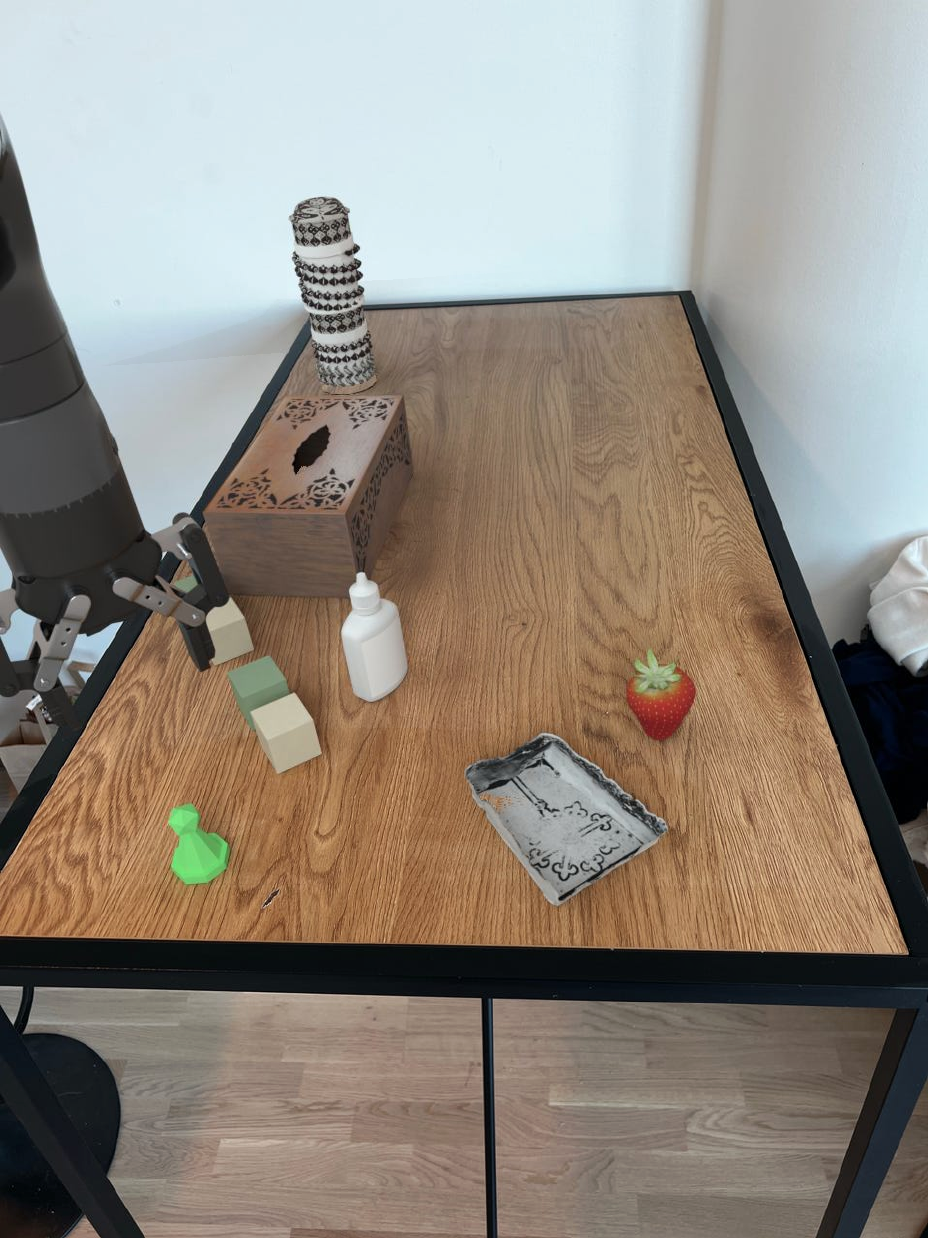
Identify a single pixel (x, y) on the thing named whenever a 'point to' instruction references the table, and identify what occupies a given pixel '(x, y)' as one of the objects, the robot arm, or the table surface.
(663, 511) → the table surface
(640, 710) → the fruit
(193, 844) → the game piece
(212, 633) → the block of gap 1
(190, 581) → the block far
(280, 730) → the block near
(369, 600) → the eye dropper bottle
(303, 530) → the tissue box cover
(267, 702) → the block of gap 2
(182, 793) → the table surface
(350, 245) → the black white cylinder
